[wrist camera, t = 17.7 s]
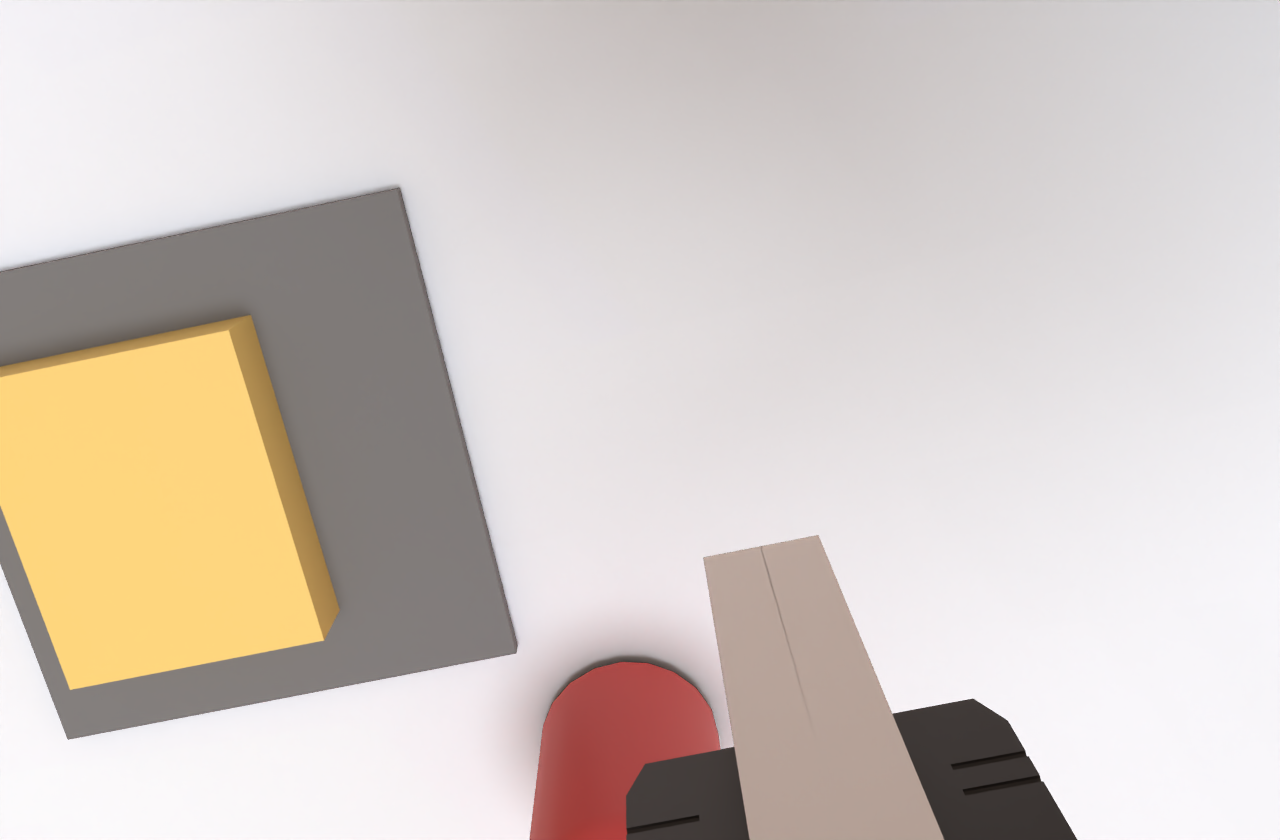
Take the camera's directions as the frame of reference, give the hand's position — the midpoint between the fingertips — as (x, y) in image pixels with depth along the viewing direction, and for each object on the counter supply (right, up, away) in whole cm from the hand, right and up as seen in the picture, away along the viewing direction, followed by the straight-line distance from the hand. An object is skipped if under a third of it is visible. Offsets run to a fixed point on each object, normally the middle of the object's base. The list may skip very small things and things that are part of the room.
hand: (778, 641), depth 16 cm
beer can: (-2, -9, +30) cm, 32 cm away
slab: (-14, +1, +25) cm, 29 cm away
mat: (-16, +1, +27) cm, 32 cm away
